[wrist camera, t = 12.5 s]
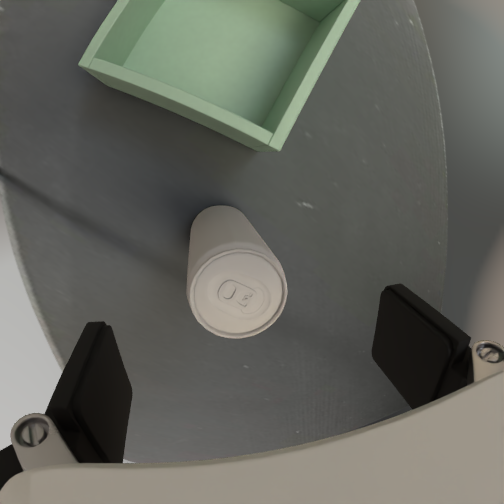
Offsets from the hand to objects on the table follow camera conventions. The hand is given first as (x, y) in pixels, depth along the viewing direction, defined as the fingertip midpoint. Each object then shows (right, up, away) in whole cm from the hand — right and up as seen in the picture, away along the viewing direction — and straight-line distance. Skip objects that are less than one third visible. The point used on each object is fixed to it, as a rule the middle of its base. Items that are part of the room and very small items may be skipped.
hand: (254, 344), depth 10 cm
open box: (-3, +19, +11) cm, 22 cm away
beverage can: (-3, +5, +16) cm, 17 cm away
